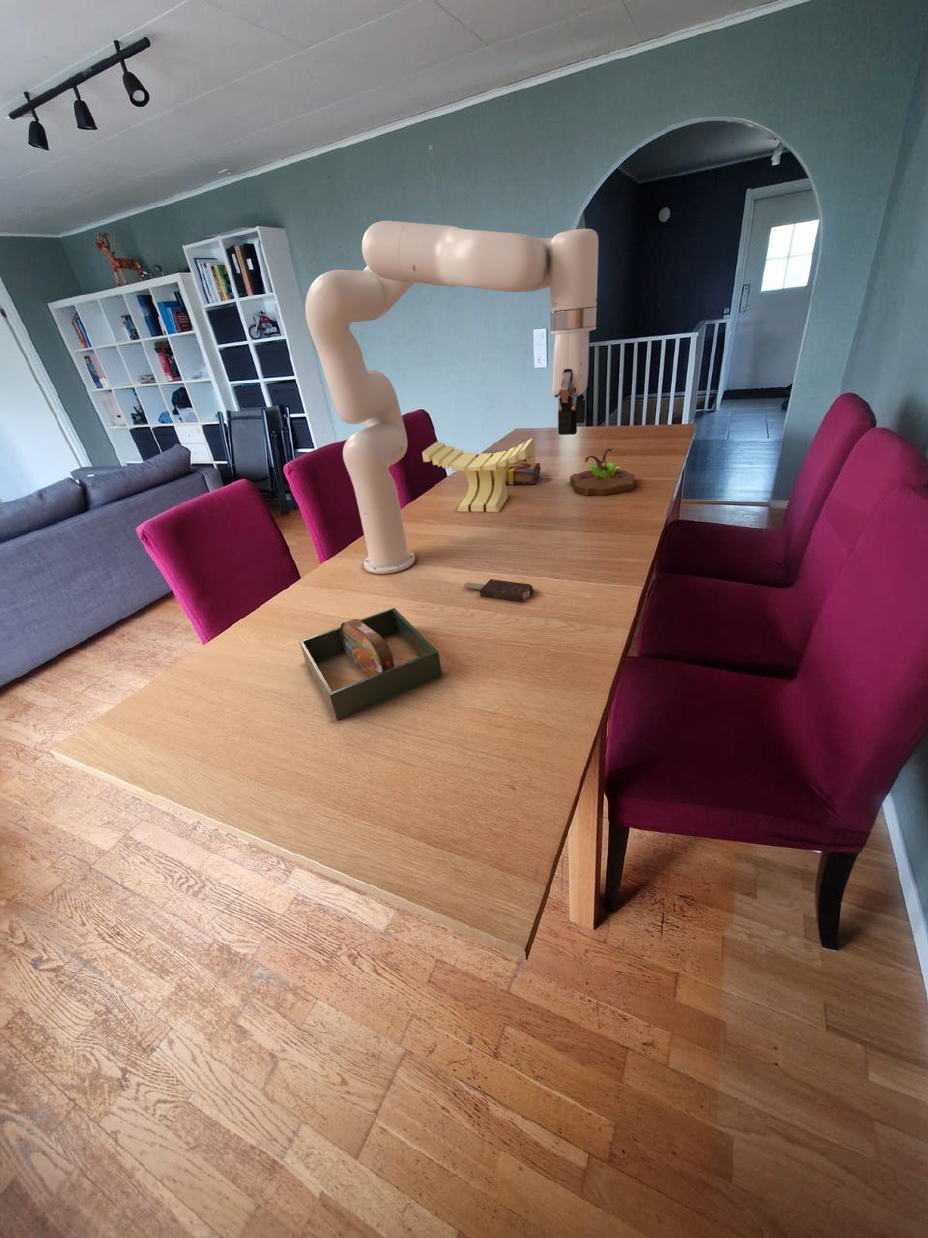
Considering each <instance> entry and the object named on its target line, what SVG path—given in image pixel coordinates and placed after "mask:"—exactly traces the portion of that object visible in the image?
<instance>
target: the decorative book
mask: <svg viewBox="0 0 928 1238" xmlns="http://www.w3.org/2000/svg"><path fill="white" fill-rule="evenodd" d="M541 470H542V468H541V463H540V462H534V464H533V465H531V464H527V463H526V462H524V463H523V464H517V462H516V463H515V464H514V465H512V466H510V467H509V468H508V471H507V474H506V480H505V484H508V485H515V484H522V485H534V484H536V485H538V484H539V482H538V481H536V480H537V479H538V478H540V475H541Z"/></svg>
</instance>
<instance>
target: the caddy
mask: <svg viewBox="0 0 928 1238" xmlns="http://www.w3.org/2000/svg"><path fill="white" fill-rule="evenodd" d="M360 620H361V621H362V622H363V623H365V624H366V625H367V626H369V627H370V628H371V629H373V630H374V631H375V632H377V633H378V634H379V635H380V636H382V637H383V638H386V637H388V636H391V635H394V634H396V633H397V634H398V635H399V636H400V637H401V638H402V639H403V640H404V641H405V643H406V644H408V646H409V647H410V648H411V649H412V650H413V651H414V652H415V654H417V655H418V657H416V658H413V659H411V660H408V661H405V662H403V663H400V664H398V665H396V666H394V667H393V668H391V669H388V670H386V671H383V672H381V673H378V674H376V675H373V676H371V677H366V678H363V679H361V680H358V681H356V682H353V683H351V684H348V685H346V686H343V687H341V688H337V689H335V690H332V688H331V687H330V685H329V683H328V681H327V680H326V679H325V677H324V675H323V673H322V672H321V670H320V668H319V667H318V665H317V663H319V662H321V661H323V660H326V659H329V658H332V657H334V656H337V655H340V654H342V653H346V651H345V648H344V646H343V643H342V639H341V633H340V627H341V626H339V627H336V628H333V629H330V630H327V631H324V632H321V633H318V634H315V635H312V636H309V637H307V638H304V639H301V640H299V641H298V642H299V645H300V649H301V652H302V655H303V658H304V662H305V664H306V666H307V668H308V670H309V672H310V673H311V675H312V677H313V679H314V681H315V683H316V685H317V686H318V688H319V691H320V692H321V694H322V695H323V697H324V699H325V701H326V703H327V705H328V707H329V709H330V711H331V712H332V714H333V715H334V718H335V719H336V721H338V722H339V721H340V720H342V719H345V718H347V717H350V716H352V715H354V714H356V713H359V712H361V711H364V710H366V709H368V708H370V707H373V706H375V705H378V704H380V703H382V702H384V701H387V700H389V699H392V698H394V697H396V696H399V695H401V694H404V693H406V692H408V691H411V690H413V689H415V688H418V687H420V686H423V685H425V684H427V683H430V682H432V681H434V680H436V679H439V678H442V677H443V673H442V666H441V660H440V653H439V650H437V648H436V647H434V646H433V645H432V644H431V643H430V641H428V640H427V639H426V637H425V636H423V634H421V632H419V631H418V630H417V629H416V628H415V627H414V626H413V625H412V624H411V623H410V622H409V621H408V619H406V618H405V617H404V616H403V615H402V614H401V612H399V611H398V610H397V608H395V607H393V608H390V609H387V610H384V611H382V612H379V613H376V614H373V615H370V616H367V617H364V618H361V619H360Z"/></svg>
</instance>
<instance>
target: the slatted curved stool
mask: <svg viewBox="0 0 928 1238" xmlns="http://www.w3.org/2000/svg"><path fill="white" fill-rule="evenodd" d="M421 453H422V461H423V463H430V462H432V466H437V468H440V467H442V469H449V468H450V467H451V472H463V473H464V475H465V477H466V479H467V482H468V491H467V493H466V495H465V496H464V498H463V500H462V501H461V502H460V503H459V505H458V507H457V509H456V512H470V511H471V512H473V513H474V512H476V513H477V512H484V511H485V512H487V513H491V512H492V513H493V512H495V513H496V512H498V513H499V512H500V510H501V509H502V507H503V506H504V504H505V503H506V502H507V500H508V497H509V496H508V490H507V485H506V483H505V480H506V474H507V471H508V468H509V467H510V466H512V465H514V464H515V463H517V464H523V463H525V462H526V463H527V464H531V465H533V464H534V463H536V443H535V438H533V437H532V438H529V439H528V440H527V441H526V442H523V443H520V444H518V446H513V447H512V448H509V449H508V450H503V451H497V452H494V453H493V452H491V453H490V452H489V453H477V452H470V451H464V450H463V449H459V448H455V446H451V445H446V443H444V442H441V441H435V442H434V443H432V444H431V445H430V446H428V447H426V449H424V450H423V451H422V452H421Z"/></svg>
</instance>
